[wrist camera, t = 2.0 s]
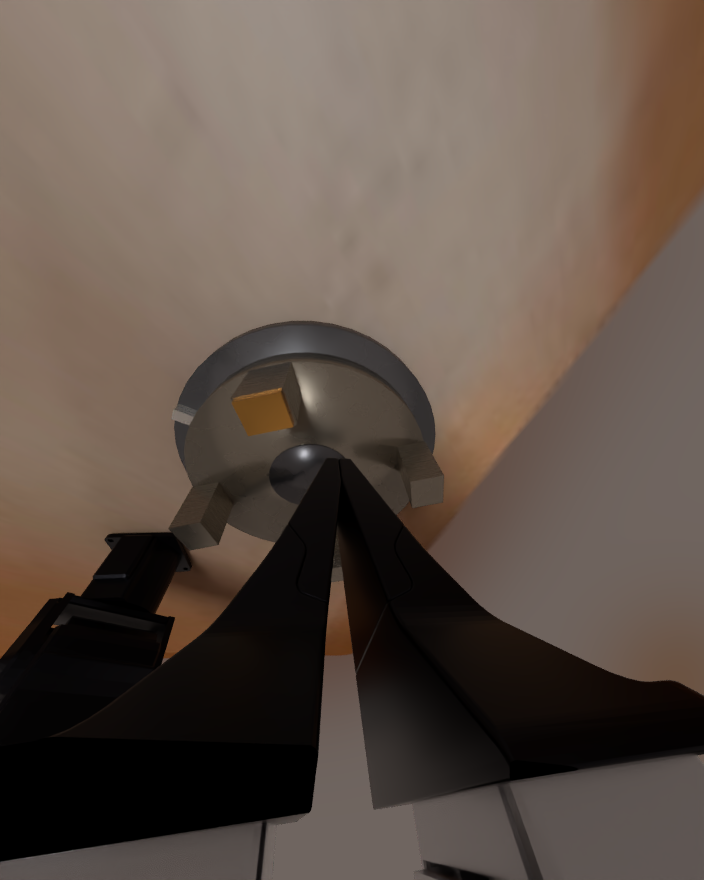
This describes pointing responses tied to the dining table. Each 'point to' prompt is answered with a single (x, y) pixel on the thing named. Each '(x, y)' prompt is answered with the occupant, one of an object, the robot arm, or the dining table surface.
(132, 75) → the dining table surface
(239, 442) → the round fixture plate
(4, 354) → the dining table surface
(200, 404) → the base plate
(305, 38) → the dining table surface
